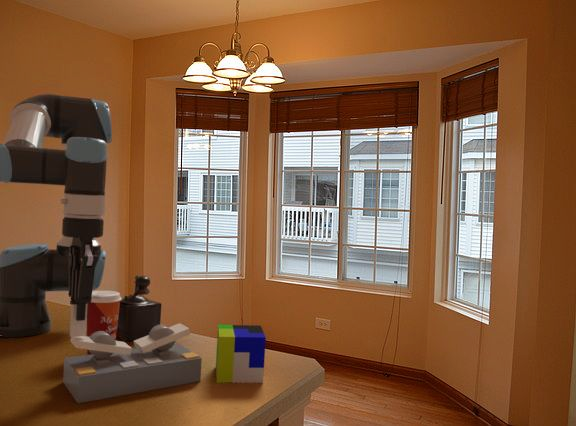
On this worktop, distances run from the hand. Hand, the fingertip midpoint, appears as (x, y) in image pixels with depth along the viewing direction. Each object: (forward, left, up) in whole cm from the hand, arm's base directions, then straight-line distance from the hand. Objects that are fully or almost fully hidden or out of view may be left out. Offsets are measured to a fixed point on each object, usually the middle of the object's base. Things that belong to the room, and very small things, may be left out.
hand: (77, 335), depth 100 cm
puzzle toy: (+7, +33, -11) cm, 36 cm away
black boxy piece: (-30, +23, -11) cm, 39 cm away
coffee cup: (-19, +10, -11) cm, 24 cm away
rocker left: (0, +4, -5) cm, 6 cm away
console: (+1, +11, -11) cm, 16 cm away
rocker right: (0, +18, -5) cm, 19 cm away
